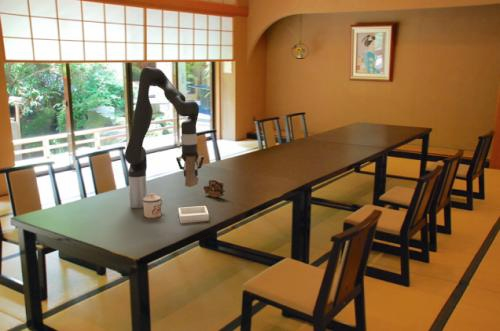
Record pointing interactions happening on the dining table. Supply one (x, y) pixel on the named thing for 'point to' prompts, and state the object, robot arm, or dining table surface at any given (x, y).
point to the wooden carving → (214, 188)
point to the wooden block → (190, 172)
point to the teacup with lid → (152, 206)
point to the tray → (193, 214)
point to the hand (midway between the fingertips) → (190, 176)
